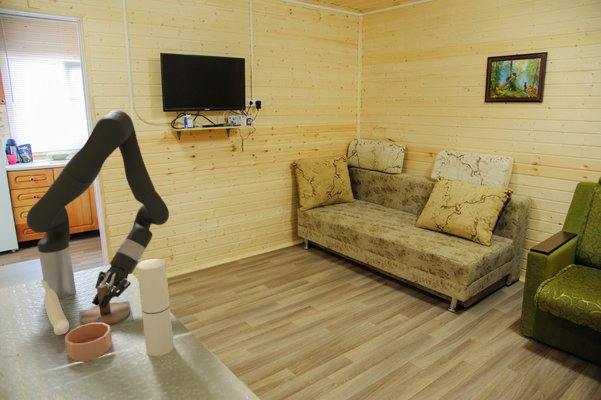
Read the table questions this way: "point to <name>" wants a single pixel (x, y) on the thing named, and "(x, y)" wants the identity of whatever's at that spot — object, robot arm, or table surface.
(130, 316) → the rubber mat
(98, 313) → the walnut lid
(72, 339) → the terracotta bowl
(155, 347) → the cylindrical container
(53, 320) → the banana
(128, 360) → the table surface
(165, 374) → the table surface
